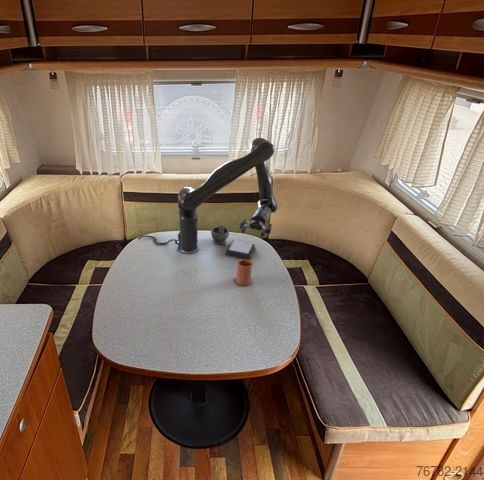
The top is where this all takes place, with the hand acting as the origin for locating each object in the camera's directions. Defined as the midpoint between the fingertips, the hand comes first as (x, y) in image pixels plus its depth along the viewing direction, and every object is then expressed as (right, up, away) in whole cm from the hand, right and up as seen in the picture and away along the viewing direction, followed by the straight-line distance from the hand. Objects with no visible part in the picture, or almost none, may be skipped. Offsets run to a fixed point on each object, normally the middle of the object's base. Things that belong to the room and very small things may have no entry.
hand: (252, 233), depth 161 cm
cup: (-4, -22, +2) cm, 22 cm away
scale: (-2, -9, +25) cm, 26 cm away
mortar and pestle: (-12, -4, +33) cm, 35 cm away
